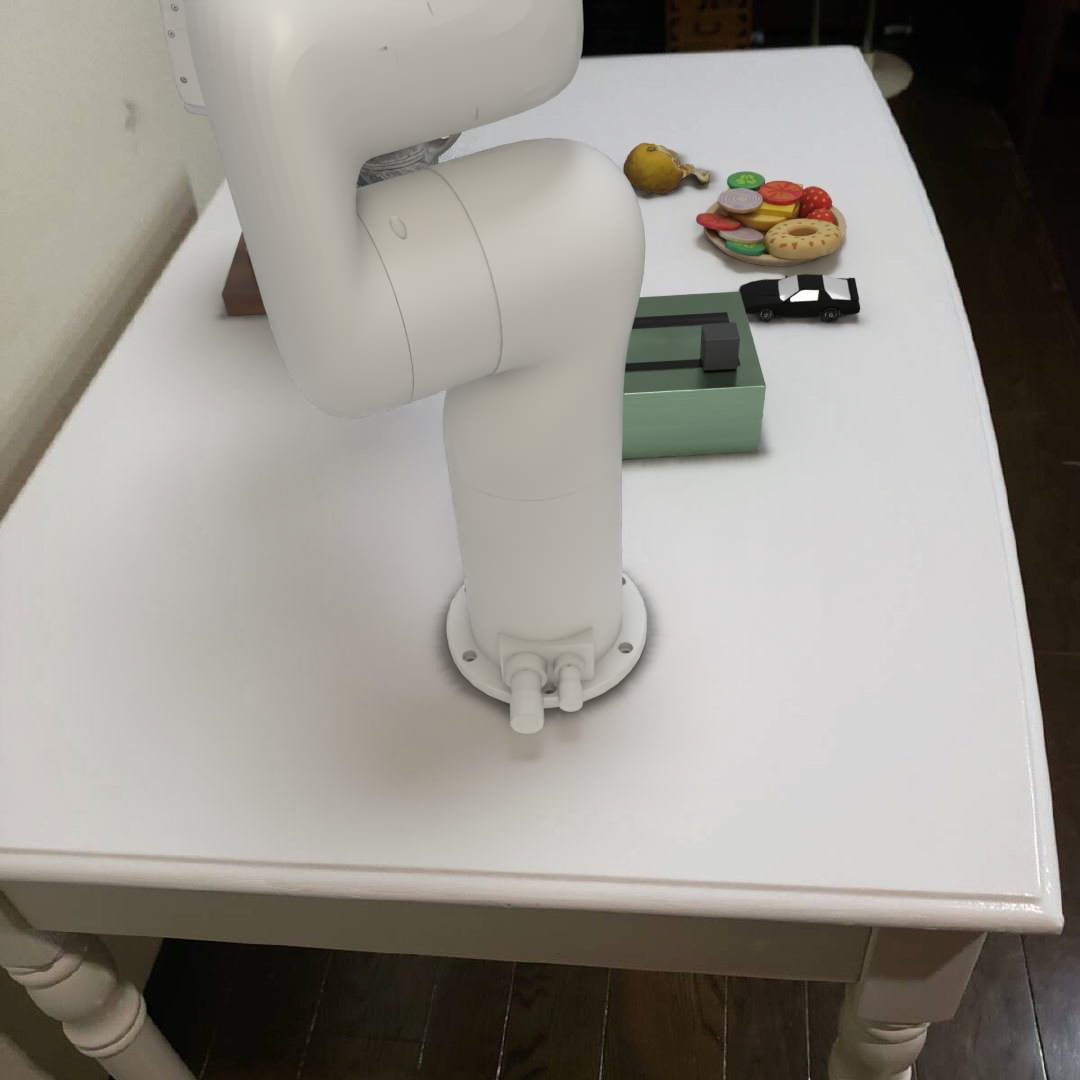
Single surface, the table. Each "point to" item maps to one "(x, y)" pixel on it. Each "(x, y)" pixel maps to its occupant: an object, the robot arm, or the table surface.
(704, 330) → the slider
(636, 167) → the golden rounded piece
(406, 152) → the mug
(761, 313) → the toy car
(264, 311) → the control block
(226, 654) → the table surface
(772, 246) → the toy food set
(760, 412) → the toaster
